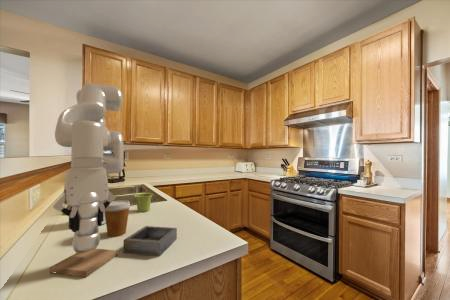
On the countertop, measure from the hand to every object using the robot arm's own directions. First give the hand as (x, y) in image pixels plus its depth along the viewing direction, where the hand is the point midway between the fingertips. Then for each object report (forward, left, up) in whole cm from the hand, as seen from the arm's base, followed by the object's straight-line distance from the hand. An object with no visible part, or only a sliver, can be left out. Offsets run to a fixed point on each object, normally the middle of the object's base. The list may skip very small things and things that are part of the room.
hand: (86, 227), depth 56 cm
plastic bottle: (0, 0, -7) cm, 7 cm away
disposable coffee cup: (-7, +21, -10) cm, 24 cm away
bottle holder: (+12, +14, -10) cm, 21 cm away
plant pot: (-15, +52, -10) cm, 55 cm away
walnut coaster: (0, 0, -10) cm, 10 cm away
